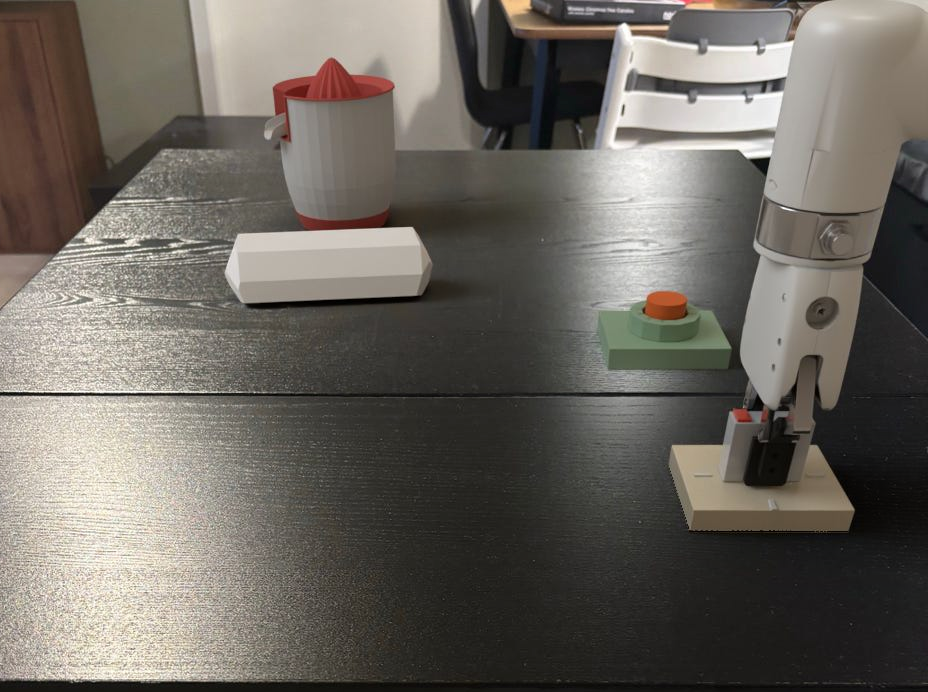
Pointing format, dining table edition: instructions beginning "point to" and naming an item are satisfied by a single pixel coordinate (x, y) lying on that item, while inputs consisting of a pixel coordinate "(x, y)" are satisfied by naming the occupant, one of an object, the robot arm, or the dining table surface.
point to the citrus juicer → (336, 147)
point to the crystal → (328, 265)
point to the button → (666, 305)
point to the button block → (662, 340)
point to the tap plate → (757, 496)
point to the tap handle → (739, 442)
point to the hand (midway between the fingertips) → (758, 470)
